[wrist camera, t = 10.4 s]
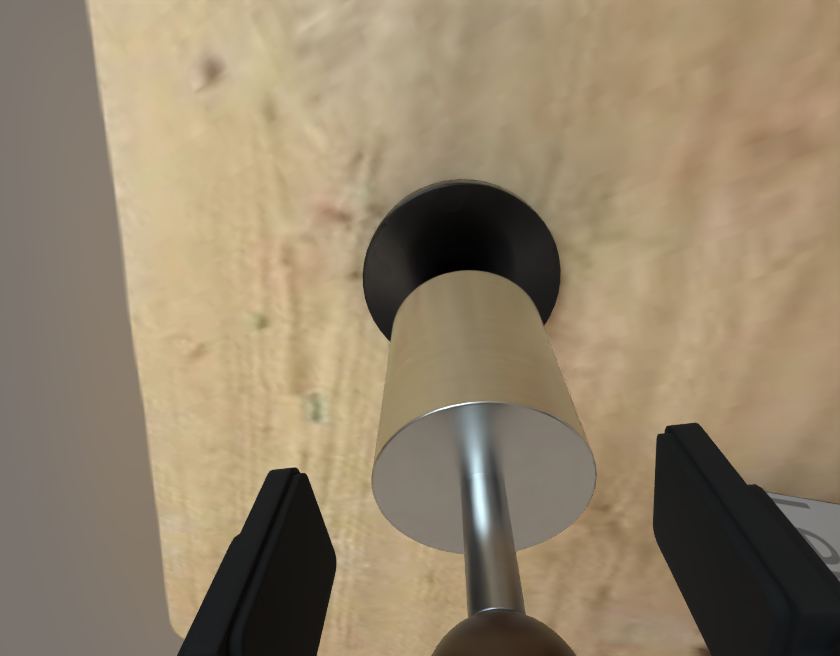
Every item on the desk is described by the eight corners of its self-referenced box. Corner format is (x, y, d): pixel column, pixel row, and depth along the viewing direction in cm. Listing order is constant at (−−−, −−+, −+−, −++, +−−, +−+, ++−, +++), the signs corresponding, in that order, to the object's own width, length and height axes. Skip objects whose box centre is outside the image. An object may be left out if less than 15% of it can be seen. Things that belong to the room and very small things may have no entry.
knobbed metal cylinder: (705, 889, 8) (774, 758, 5) (373, 891, 9) (263, 776, 6) (533, 349, 23) (525, 231, 20) (410, 366, 23) (383, 254, 20)
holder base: (560, 346, 27) (587, 401, 22) (387, 369, 28) (375, 426, 23) (550, 162, 23) (579, 179, 18) (346, 197, 24) (321, 223, 19)
